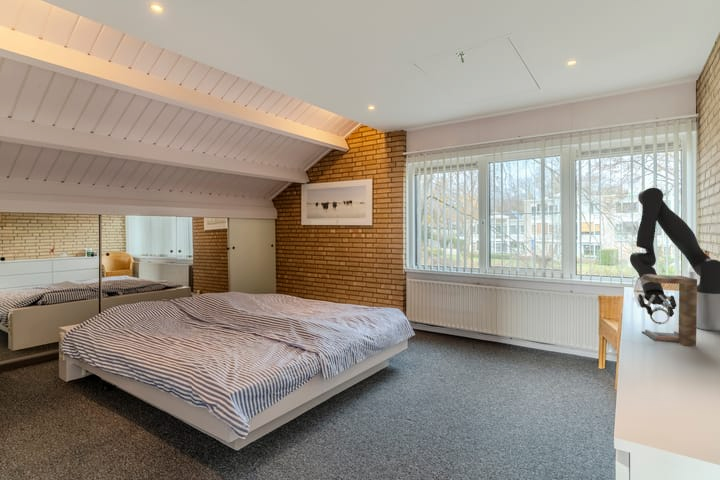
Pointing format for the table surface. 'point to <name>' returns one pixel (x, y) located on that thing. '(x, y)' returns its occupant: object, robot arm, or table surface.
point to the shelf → (683, 305)
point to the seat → (662, 336)
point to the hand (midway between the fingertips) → (661, 315)
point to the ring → (662, 310)
